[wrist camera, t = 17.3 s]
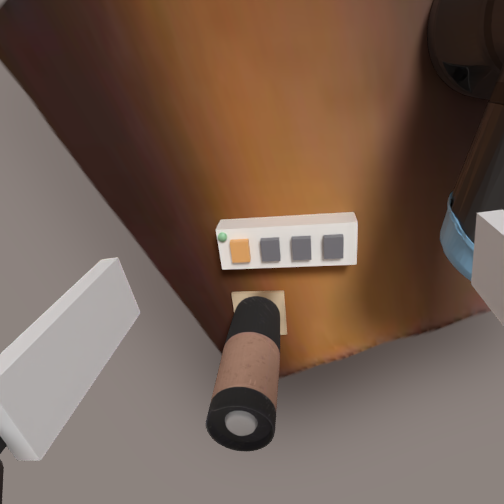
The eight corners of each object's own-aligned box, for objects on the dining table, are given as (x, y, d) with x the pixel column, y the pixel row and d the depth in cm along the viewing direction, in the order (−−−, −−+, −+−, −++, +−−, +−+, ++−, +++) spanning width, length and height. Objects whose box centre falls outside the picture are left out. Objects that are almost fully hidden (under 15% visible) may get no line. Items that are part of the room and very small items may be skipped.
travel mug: (289, 326, 56) (286, 446, 38) (245, 338, 58) (223, 457, 40) (270, 288, 53) (258, 398, 35) (225, 302, 55) (192, 413, 38)
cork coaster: (283, 290, 54) (283, 292, 53) (287, 332, 57) (287, 334, 57) (231, 291, 55) (231, 294, 54) (238, 332, 58) (237, 335, 58)
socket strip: (353, 211, 47) (358, 224, 43) (352, 252, 50) (357, 268, 46) (220, 219, 50) (214, 232, 46) (226, 257, 52) (221, 272, 48)
